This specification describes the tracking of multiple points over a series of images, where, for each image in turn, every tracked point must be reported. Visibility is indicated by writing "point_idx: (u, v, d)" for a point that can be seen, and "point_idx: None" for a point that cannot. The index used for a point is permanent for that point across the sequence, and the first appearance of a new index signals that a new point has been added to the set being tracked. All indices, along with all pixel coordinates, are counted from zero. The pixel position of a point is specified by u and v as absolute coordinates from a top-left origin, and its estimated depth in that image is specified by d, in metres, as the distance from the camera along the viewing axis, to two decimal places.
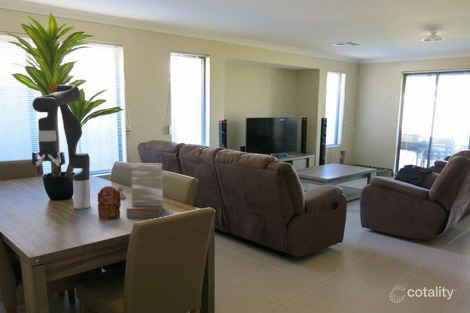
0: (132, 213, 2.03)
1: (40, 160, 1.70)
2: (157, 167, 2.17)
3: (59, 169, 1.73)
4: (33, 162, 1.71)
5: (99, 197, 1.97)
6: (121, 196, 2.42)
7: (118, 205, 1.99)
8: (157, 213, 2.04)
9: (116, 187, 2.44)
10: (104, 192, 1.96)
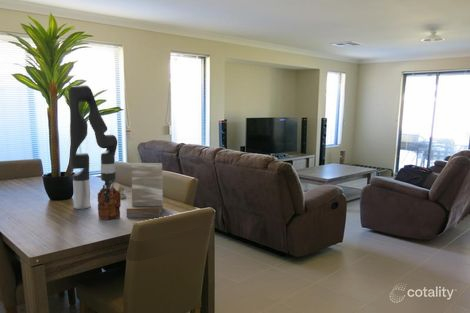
0: (132, 213, 2.03)
1: (110, 190, 1.96)
2: (157, 167, 2.17)
3: None
4: (108, 193, 1.93)
5: (99, 197, 1.97)
6: (122, 196, 2.43)
7: (118, 205, 1.99)
8: (157, 213, 2.04)
9: (117, 187, 2.44)
10: None
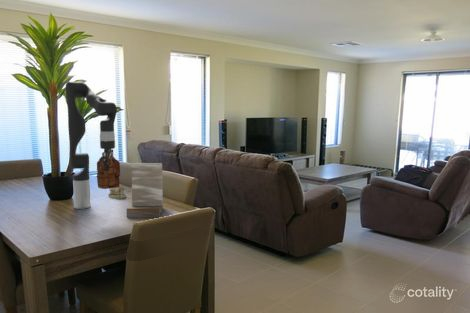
0: (132, 213, 2.03)
1: (109, 158, 1.93)
2: (157, 167, 2.17)
3: None
4: (107, 161, 1.90)
5: (98, 166, 1.95)
6: (122, 196, 2.44)
7: (117, 174, 1.97)
8: (157, 213, 2.04)
9: None
10: None
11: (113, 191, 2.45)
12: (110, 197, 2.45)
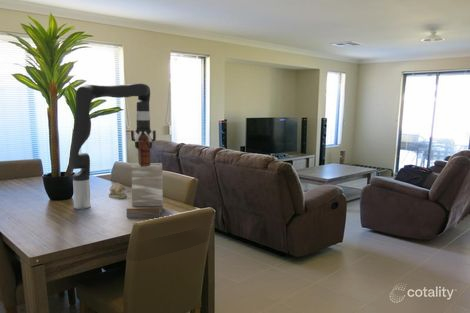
0: (132, 213, 2.03)
1: None
2: (157, 167, 2.17)
3: None
4: None
5: (144, 145, 2.02)
6: (123, 195, 2.44)
7: None
8: (157, 213, 2.04)
9: (118, 187, 2.45)
10: (148, 139, 2.05)
11: (114, 191, 2.46)
12: (111, 197, 2.45)
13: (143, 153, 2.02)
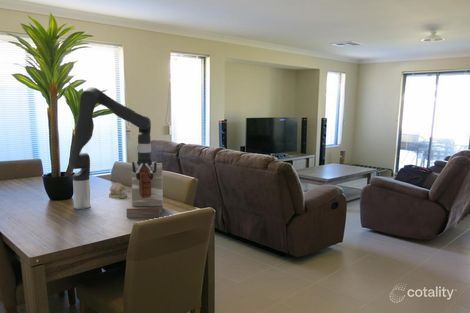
0: (132, 213, 2.03)
1: None
2: (157, 167, 2.17)
3: None
4: None
5: (146, 177, 2.05)
6: (123, 195, 2.45)
7: None
8: (157, 213, 2.04)
9: (118, 186, 2.46)
10: None
11: (114, 191, 2.46)
12: (111, 197, 2.45)
13: (144, 185, 2.05)
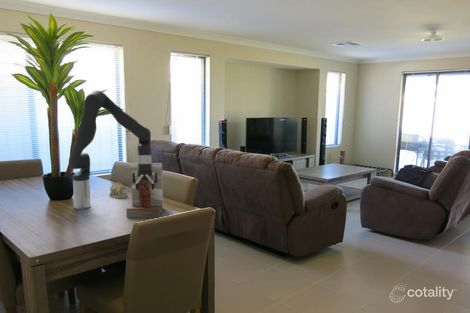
0: (132, 213, 2.03)
1: None
2: (157, 167, 2.17)
3: None
4: None
5: (145, 190, 2.06)
6: (124, 195, 2.45)
7: None
8: (157, 213, 2.04)
9: (118, 186, 2.46)
10: (148, 184, 2.09)
11: (114, 191, 2.47)
12: None
13: (143, 198, 2.06)
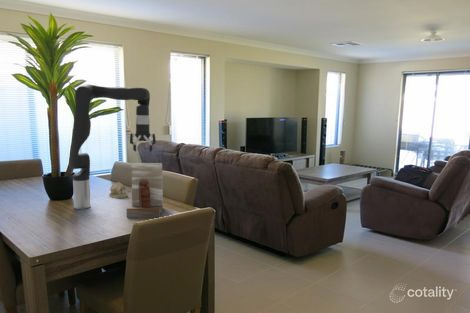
0: (132, 213, 2.03)
1: None
2: (157, 167, 2.17)
3: None
4: None
5: (145, 190, 2.06)
6: (124, 195, 2.46)
7: None
8: (157, 213, 2.04)
9: (119, 186, 2.46)
10: (148, 184, 2.09)
11: (114, 191, 2.47)
12: None
13: (143, 198, 2.06)
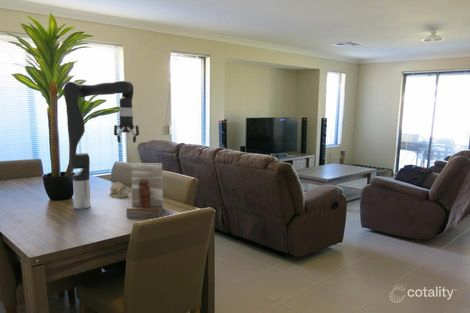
0: (132, 213, 2.03)
1: None
2: (157, 167, 2.17)
3: None
4: None
5: (145, 190, 2.06)
6: (125, 195, 2.46)
7: None
8: (157, 213, 2.04)
9: (119, 186, 2.47)
10: (148, 184, 2.09)
11: (115, 190, 2.47)
12: (112, 196, 2.46)
13: (143, 198, 2.06)
